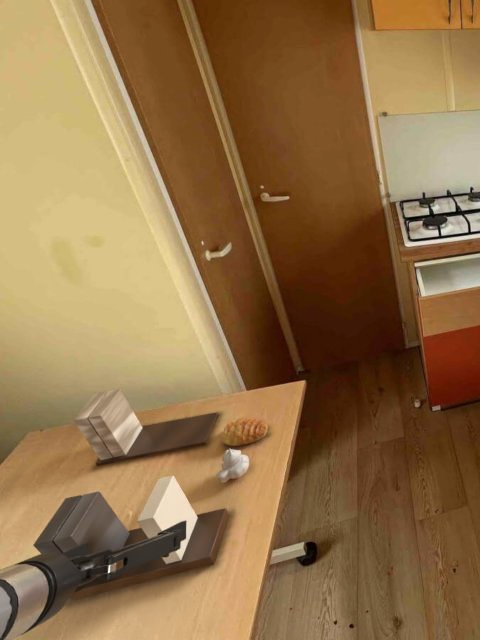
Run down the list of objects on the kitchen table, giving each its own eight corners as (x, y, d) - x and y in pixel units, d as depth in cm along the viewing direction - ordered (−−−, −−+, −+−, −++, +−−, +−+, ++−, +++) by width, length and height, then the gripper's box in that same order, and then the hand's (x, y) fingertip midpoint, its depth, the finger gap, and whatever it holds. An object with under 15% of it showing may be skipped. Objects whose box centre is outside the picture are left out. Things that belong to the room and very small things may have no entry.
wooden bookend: (96, 466, 96) (67, 423, 90) (119, 433, 104) (93, 391, 98) (205, 444, 101) (184, 402, 95) (218, 414, 109) (200, 374, 103)
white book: (166, 564, 76) (136, 521, 70) (184, 520, 83) (158, 478, 77) (181, 560, 77) (153, 517, 71) (197, 517, 83) (173, 475, 77)
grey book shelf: (71, 601, 73) (24, 551, 66) (102, 545, 81) (63, 495, 74) (214, 564, 78) (184, 514, 71) (230, 515, 86) (204, 465, 79)
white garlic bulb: (258, 466, 96) (247, 443, 92) (230, 492, 91) (218, 468, 87) (241, 458, 98) (230, 434, 94) (214, 482, 93) (201, 458, 89)
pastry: (273, 423, 107) (269, 412, 105) (261, 445, 101) (257, 435, 99) (235, 425, 106) (230, 414, 104) (221, 448, 100) (215, 437, 99)
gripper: (-141, 680, 44) (37, 592, 64) (138, 606, 49) (222, 546, 69) (-124, 596, 46) (43, 536, 66) (142, 534, 52) (222, 496, 71)
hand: (135, 541), depth 67 cm, fingers open, 13 cm apart
